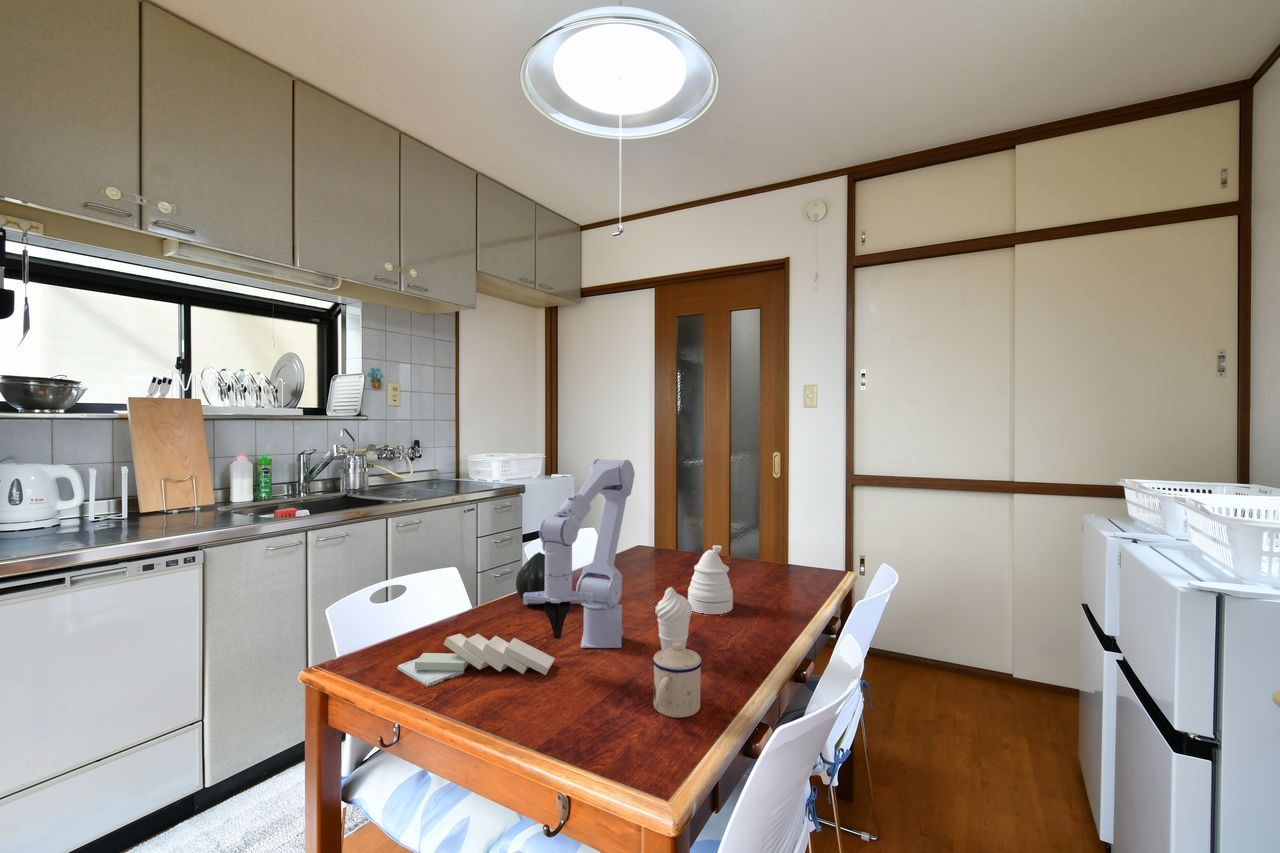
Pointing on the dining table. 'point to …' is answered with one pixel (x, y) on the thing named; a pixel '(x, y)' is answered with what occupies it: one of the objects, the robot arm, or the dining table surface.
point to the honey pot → (711, 585)
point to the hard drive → (426, 673)
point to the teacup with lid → (677, 681)
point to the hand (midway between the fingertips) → (557, 637)
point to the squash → (531, 576)
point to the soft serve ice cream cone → (673, 618)
